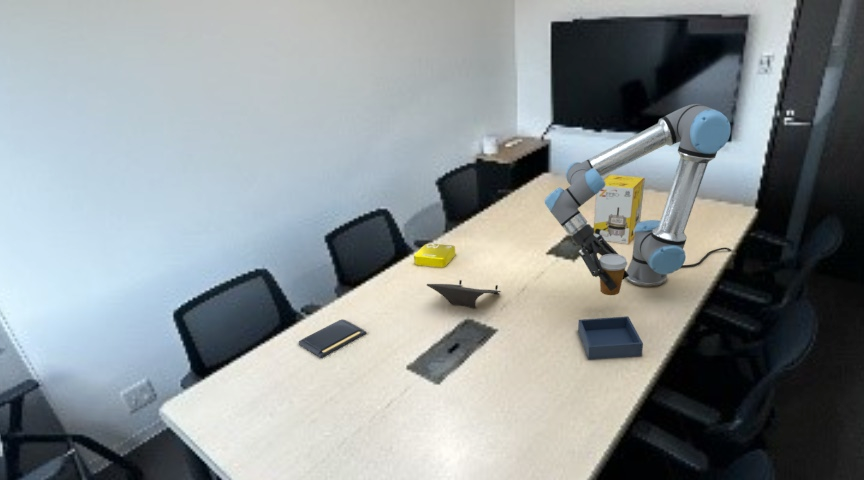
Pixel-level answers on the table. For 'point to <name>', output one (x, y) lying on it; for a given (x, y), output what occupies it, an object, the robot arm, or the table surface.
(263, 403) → the table surface
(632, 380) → the table surface
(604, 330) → the bin
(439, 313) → the table surface
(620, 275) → the disposable coffee cup
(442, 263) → the element tile
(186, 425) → the table surface
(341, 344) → the wallet
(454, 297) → the dark gray curved stand
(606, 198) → the packaging box
